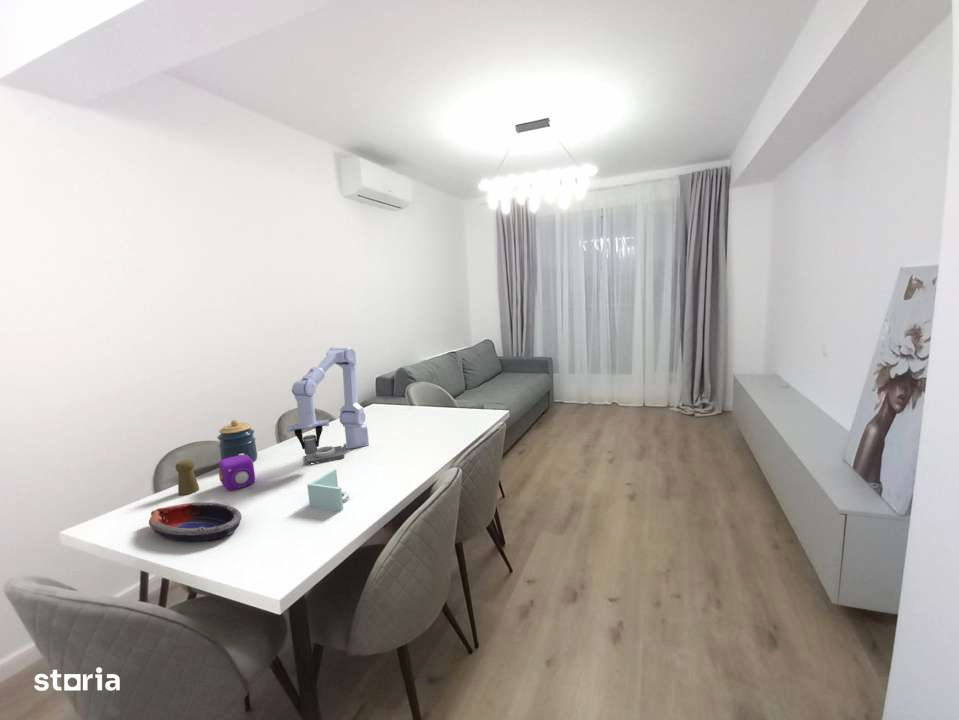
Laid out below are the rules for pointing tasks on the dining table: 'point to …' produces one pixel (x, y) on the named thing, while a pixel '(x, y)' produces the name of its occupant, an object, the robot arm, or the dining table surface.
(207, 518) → the dish
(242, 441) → the canister
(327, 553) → the dining table surface
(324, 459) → the grey flat piece
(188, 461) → the olive chess piece
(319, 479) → the right angle wall
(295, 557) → the dining table surface
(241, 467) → the toy camera
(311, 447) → the lens
